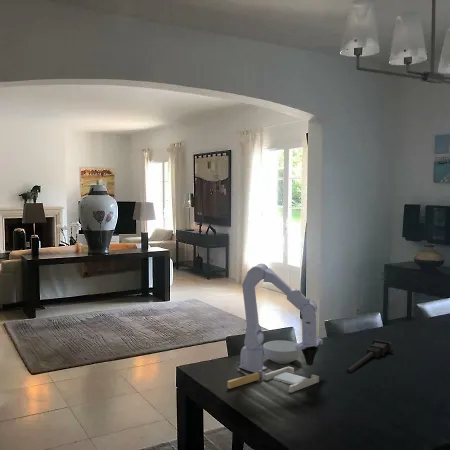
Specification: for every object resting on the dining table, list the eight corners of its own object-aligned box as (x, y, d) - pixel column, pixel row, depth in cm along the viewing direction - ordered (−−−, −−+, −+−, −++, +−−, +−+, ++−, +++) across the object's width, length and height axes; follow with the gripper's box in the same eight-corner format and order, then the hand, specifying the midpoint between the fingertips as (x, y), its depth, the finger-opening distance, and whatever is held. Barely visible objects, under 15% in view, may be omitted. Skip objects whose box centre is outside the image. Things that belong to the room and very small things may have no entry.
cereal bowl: (289, 370, 214) (288, 353, 213) (255, 362, 224) (255, 346, 223) (308, 359, 227) (308, 343, 227) (276, 352, 237) (276, 337, 237)
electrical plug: (394, 349, 240) (394, 339, 240) (358, 379, 207) (358, 367, 207) (376, 346, 245) (376, 336, 245) (339, 375, 213) (338, 363, 212)
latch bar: (260, 377, 205) (259, 369, 204) (263, 378, 203) (263, 371, 203) (226, 387, 194) (226, 379, 194) (230, 389, 192) (230, 381, 192)
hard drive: (273, 376, 203) (299, 384, 195) (285, 371, 209) (311, 378, 201) (273, 381, 203) (299, 388, 195) (285, 375, 209) (311, 382, 201)
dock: (254, 379, 203) (254, 373, 203) (283, 369, 214) (283, 364, 214) (289, 393, 189) (289, 387, 189) (319, 381, 200) (319, 376, 200)
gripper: (305, 337, 199) (305, 371, 200) (328, 330, 209) (328, 363, 210) (291, 333, 205) (291, 366, 206) (315, 327, 214) (315, 359, 215)
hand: (309, 364), depth 208 cm, fingers closed
